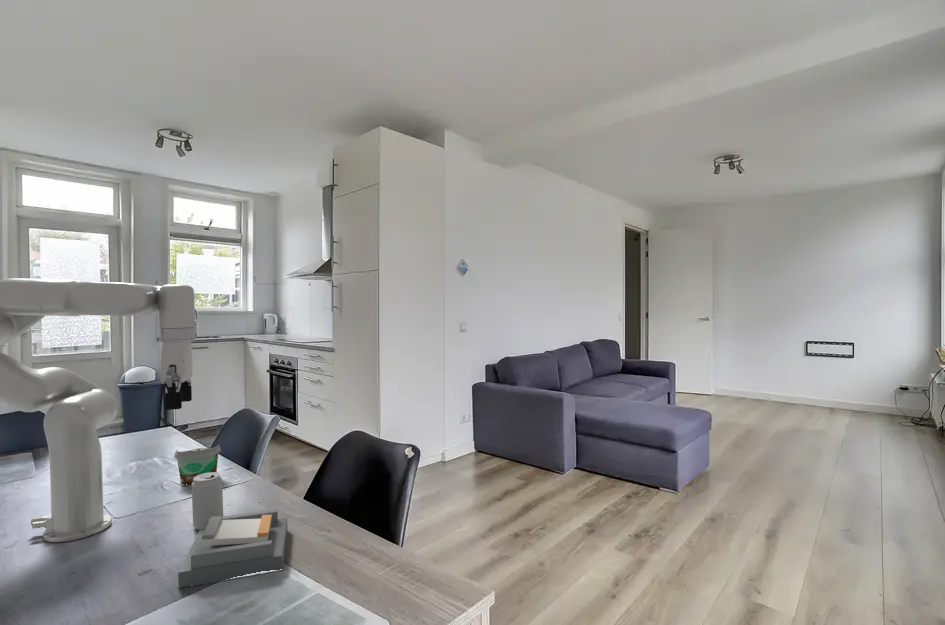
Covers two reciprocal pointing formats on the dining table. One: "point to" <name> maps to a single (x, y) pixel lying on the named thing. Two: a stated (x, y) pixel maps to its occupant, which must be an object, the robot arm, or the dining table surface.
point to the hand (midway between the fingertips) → (179, 405)
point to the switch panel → (235, 554)
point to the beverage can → (206, 498)
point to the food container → (196, 462)
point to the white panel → (236, 531)
